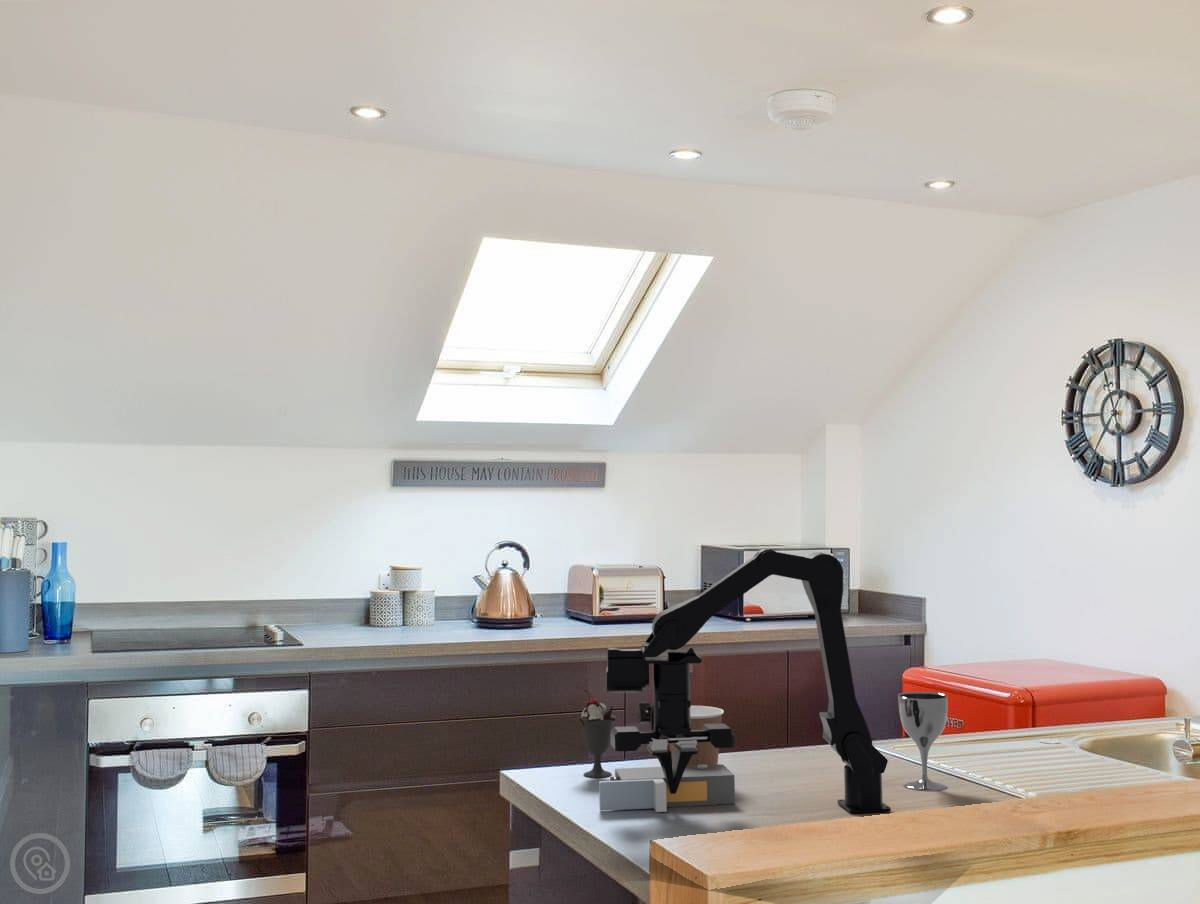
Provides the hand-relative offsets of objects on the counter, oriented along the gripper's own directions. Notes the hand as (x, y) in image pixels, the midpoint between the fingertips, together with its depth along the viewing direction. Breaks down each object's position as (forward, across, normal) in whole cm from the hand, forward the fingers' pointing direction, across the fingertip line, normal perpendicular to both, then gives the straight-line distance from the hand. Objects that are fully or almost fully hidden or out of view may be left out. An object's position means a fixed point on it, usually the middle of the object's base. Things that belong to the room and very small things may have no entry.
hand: (672, 793), depth 180 cm
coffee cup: (+3, -7, -19) cm, 20 cm away
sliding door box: (+3, -1, -6) cm, 7 cm away
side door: (+2, +6, 0) cm, 7 cm away
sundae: (+3, +9, -26) cm, 28 cm away
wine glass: (+3, -44, -8) cm, 45 cm away
